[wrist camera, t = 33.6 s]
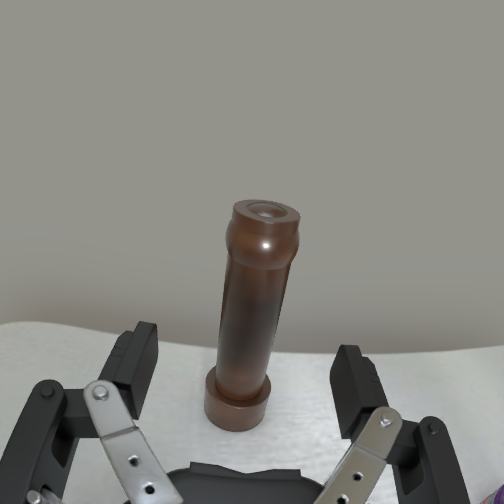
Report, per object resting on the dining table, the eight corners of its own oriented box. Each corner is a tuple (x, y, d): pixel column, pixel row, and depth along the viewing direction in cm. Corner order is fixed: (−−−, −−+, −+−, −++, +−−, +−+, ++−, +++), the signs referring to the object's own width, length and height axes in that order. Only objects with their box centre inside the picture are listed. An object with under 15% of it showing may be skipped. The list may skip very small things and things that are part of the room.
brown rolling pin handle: (217, 438, 19) (244, 223, 12) (196, 392, 23) (208, 190, 16) (274, 421, 21) (332, 220, 14) (249, 380, 24) (284, 190, 18)
